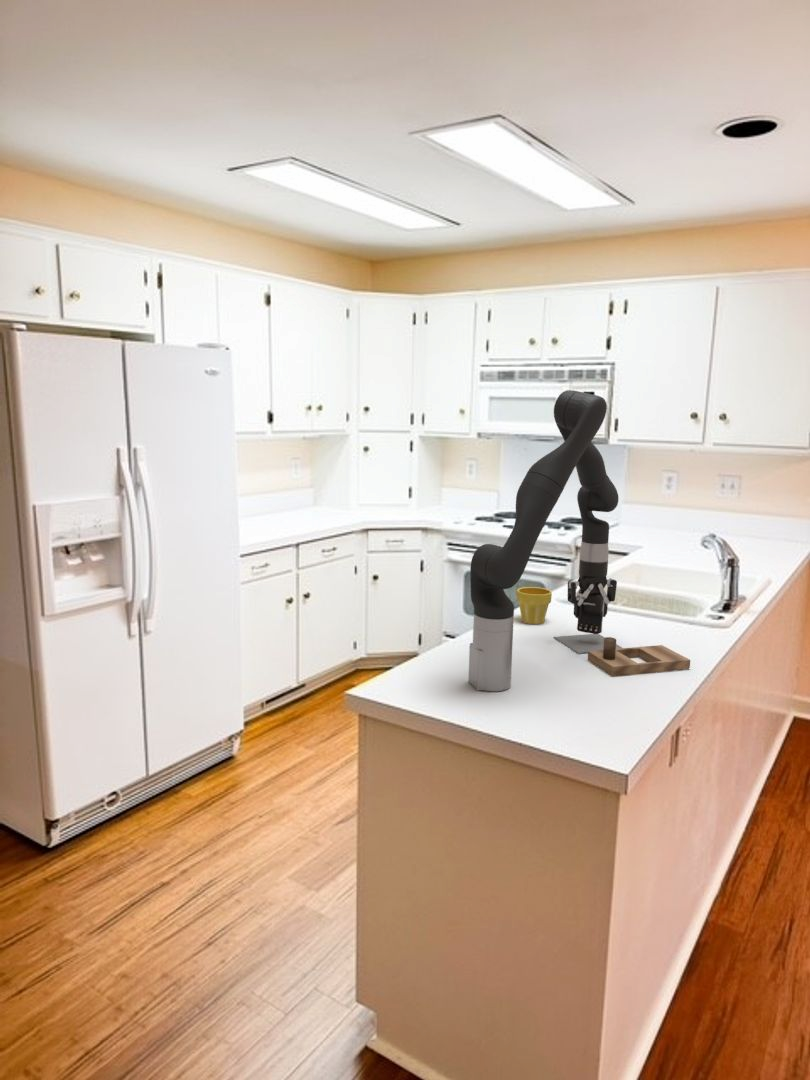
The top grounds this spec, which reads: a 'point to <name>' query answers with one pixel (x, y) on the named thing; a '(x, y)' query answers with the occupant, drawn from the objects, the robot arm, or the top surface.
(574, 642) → the rubber mat
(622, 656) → the plane body
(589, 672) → the top surface
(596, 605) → the battery charger
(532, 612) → the plant pot
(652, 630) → the top surface
